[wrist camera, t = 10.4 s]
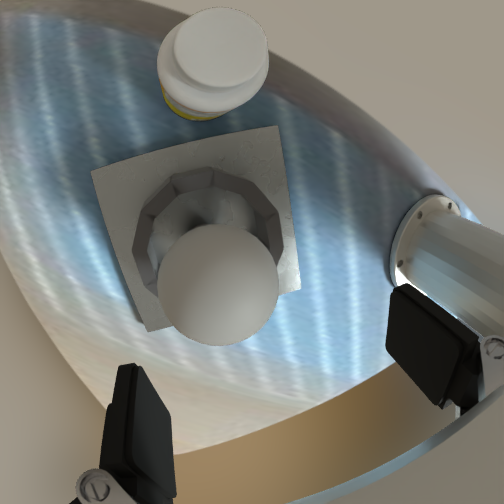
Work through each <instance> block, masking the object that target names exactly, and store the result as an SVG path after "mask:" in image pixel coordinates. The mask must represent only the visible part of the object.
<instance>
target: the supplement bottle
mask: <svg viewBox="0 0 504 504" xmlns="http://www.w3.org/2000/svg"><path fill="white" fill-rule="evenodd" d="M268 69H269V55H268V44H267V38H266V35H265V33H264V31H263V29H262V28H261V26H260V25H259V24H258V23H257V22H256V21H255V20H254V19H253V18H252V17H251V16H249V15H248V14H246V13H244V12H242V11H239V10H236V9H232V8H226V7H214V8H208V9H205V10H202V11H199V12H197V13H195V14H193V15H192V16H190V17H189V18H188V19H186V20H184V21H182V22H181V23H179V24H178V25H177V26H175V27H174V28H173V29H172V30H171V31H170V32H169V33H168V34H167V36H166V37H165V38H164V40H163V42H162V44H161V46H160V49H159V52H158V57H157V71H158V76H159V81H160V85H161V89H162V93H163V97H164V100H165V102H166V103H167V105H168V106H169V108H170V109H171V110H172V111H173V112H174V113H175V114H177V115H178V116H180V117H182V118H184V119H187V120H191V121H208V120H212V119H215V118H217V117H219V116H221V115H223V114H225V113H227V112H229V111H231V110H233V109H235V108H237V107H238V106H240V105H242V104H244V103H245V102H247V101H248V100H250V99H251V98H252V97H253V96H254V95H255V94H256V93H257V92H258V91H259V89H260V88H261V87H262V85H263V83H264V81H265V79H266V77H267V73H268Z"/></svg>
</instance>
